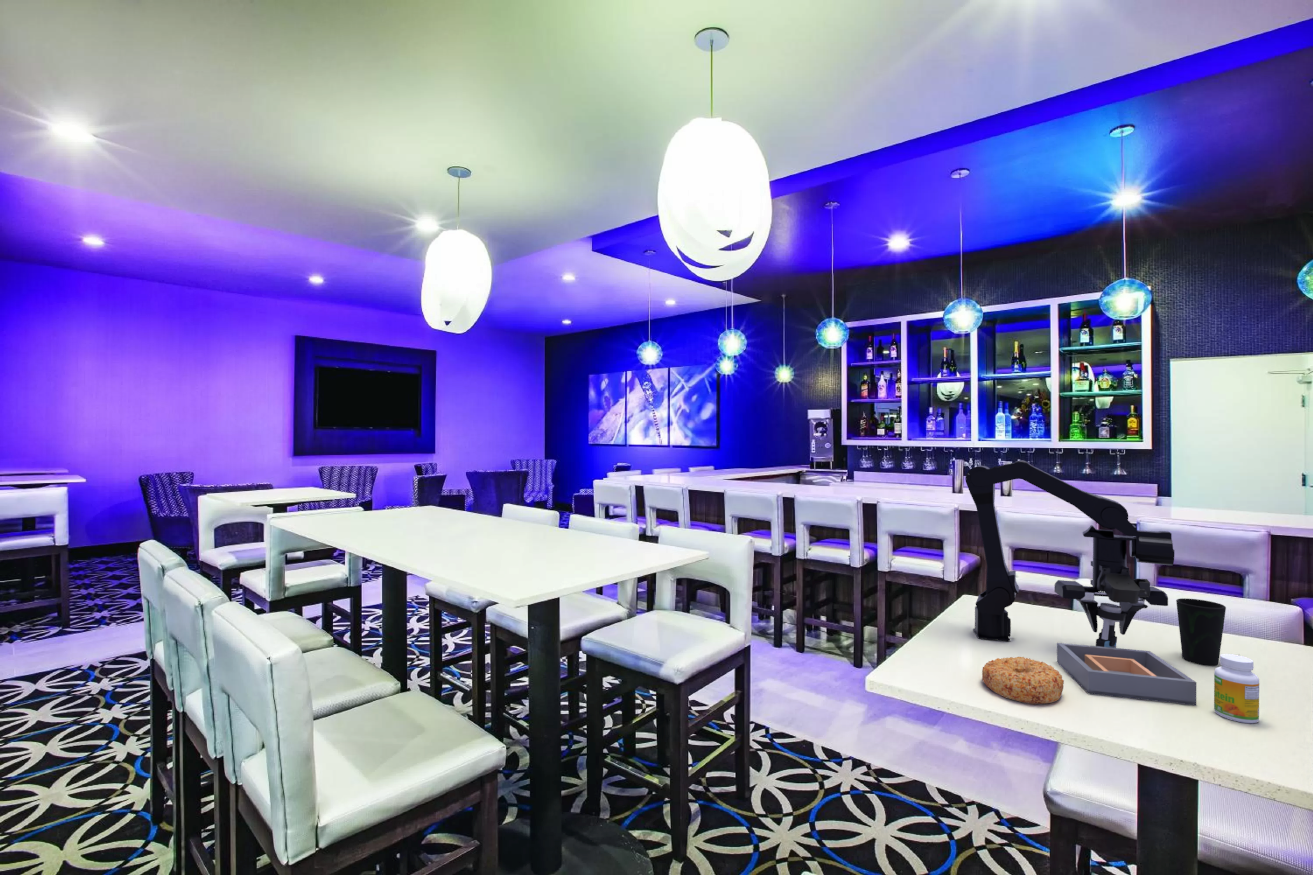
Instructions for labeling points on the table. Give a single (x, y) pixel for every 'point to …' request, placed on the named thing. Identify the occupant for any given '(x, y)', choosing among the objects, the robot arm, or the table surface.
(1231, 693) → the supplement bottle
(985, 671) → the bagel
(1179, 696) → the walled box
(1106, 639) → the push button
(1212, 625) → the cup
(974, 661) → the table surface
